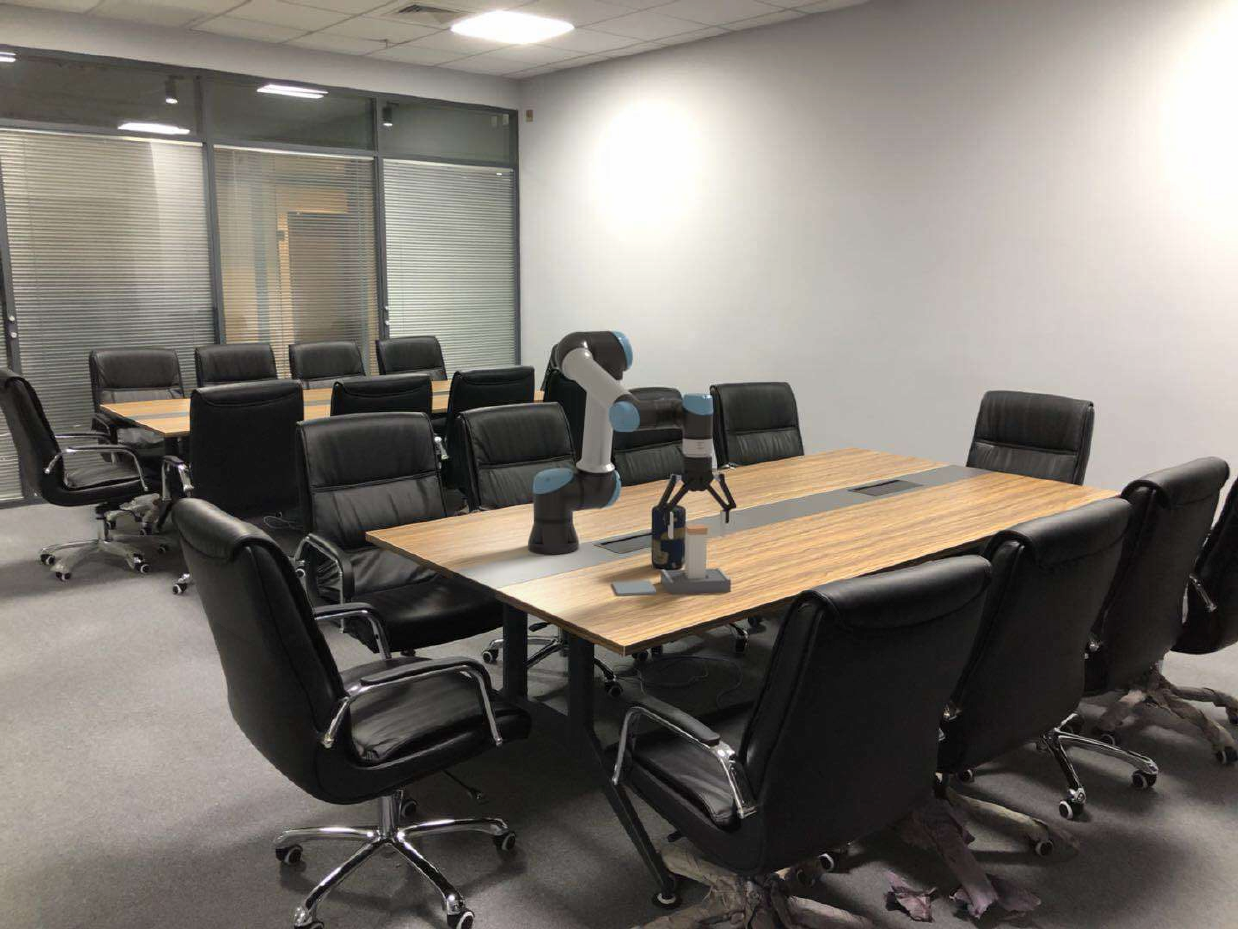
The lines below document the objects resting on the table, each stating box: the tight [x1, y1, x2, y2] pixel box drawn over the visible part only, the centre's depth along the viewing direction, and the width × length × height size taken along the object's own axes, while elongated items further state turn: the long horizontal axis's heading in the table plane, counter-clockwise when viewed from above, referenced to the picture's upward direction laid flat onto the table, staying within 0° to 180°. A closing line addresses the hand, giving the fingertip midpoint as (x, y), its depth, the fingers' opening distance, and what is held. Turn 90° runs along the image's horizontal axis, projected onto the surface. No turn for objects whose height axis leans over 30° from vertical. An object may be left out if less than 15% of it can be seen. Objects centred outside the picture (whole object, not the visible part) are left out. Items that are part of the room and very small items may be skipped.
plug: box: [684, 523, 708, 579], centre depth 250 cm, size 5×5×16 cm
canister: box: [650, 502, 687, 570], centre depth 269 cm, size 10×10×18 cm
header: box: [660, 566, 732, 595], centre depth 251 cm, size 16×11×3 cm
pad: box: [611, 579, 658, 596], centre depth 249 cm, size 10×10×1 cm
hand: (696, 536), depth 249 cm, fingers open, 13 cm apart
